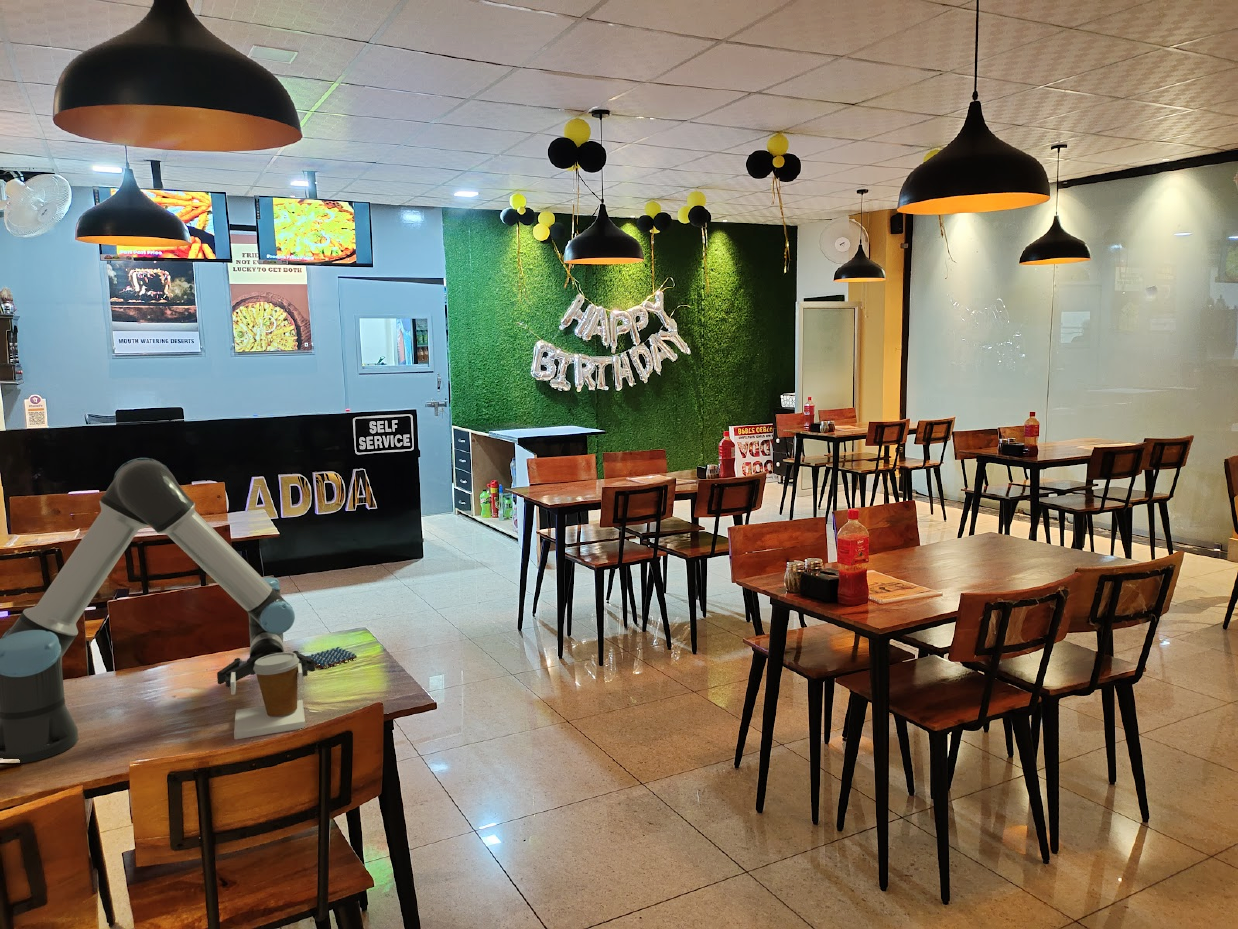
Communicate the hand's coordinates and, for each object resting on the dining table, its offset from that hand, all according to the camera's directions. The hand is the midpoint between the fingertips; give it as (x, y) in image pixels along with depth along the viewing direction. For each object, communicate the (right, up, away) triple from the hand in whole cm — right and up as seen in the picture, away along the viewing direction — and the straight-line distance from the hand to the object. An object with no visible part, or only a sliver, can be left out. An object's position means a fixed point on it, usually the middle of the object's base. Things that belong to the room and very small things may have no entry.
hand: (267, 683), depth 185 cm
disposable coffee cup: (+1, -8, +6) cm, 10 cm away
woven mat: (-1, -6, +43) cm, 43 cm away
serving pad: (-1, -10, +4) cm, 11 cm away
